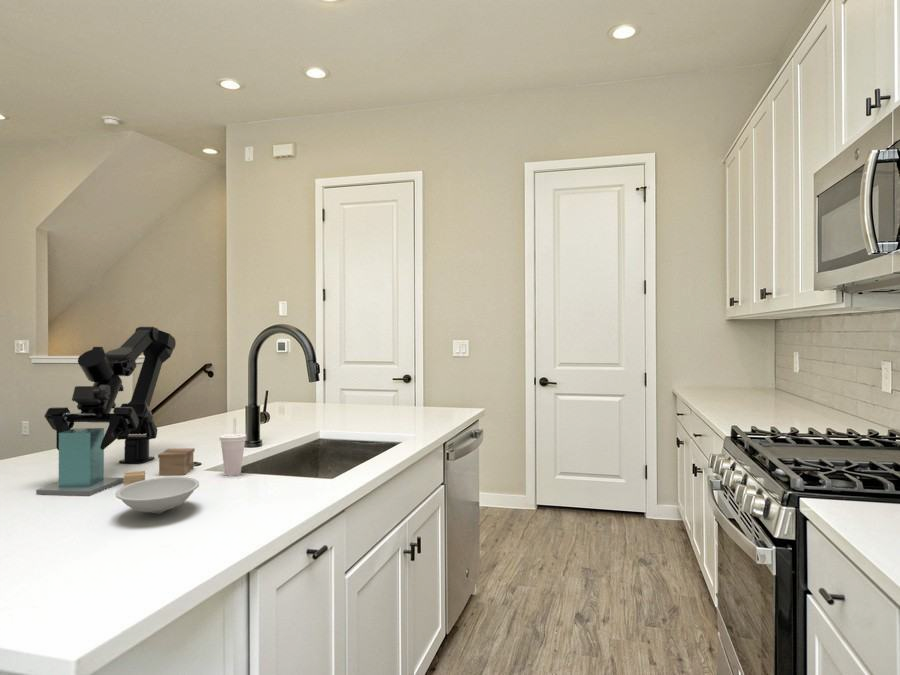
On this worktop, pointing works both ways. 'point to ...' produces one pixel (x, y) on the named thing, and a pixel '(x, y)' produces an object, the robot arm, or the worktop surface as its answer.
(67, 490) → the plate
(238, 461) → the smoothie
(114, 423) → the robot arm
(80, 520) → the worktop surface
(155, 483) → the dish
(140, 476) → the block
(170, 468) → the walnut box
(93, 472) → the tall teal box
